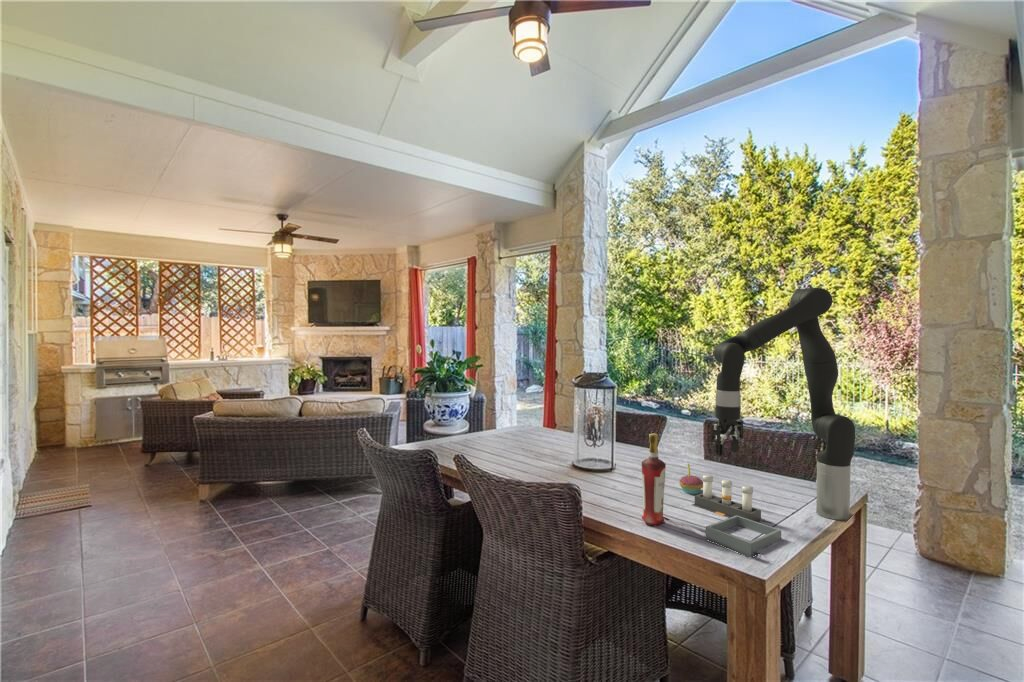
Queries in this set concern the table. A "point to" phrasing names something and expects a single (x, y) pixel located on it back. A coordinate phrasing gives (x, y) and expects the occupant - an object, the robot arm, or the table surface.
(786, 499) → the table surface
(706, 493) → the cylinder
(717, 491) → the table surface
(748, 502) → the cylinder
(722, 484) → the cylinder
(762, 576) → the table surface
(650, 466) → the liquor
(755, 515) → the fuse block
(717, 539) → the tray
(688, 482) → the cupcake
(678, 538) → the table surface
